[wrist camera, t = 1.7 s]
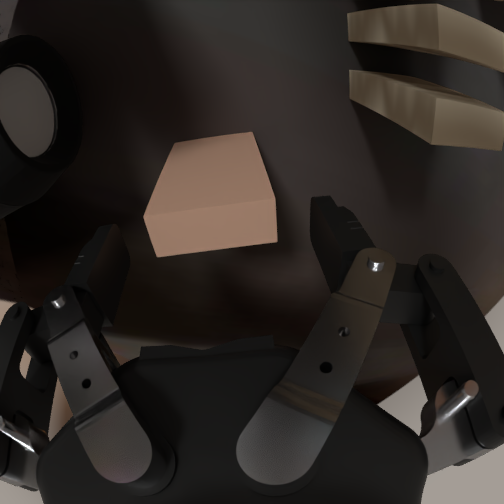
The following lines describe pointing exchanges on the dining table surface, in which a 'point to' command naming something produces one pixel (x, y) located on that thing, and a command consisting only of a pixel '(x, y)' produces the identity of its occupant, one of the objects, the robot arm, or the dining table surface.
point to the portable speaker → (34, 120)
